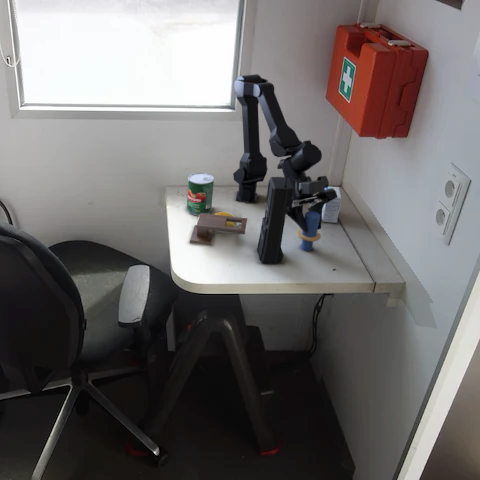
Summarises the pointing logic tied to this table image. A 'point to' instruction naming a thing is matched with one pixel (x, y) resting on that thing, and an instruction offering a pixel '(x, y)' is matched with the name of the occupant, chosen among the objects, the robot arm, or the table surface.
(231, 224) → the bread roll
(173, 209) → the table surface
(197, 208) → the canned tomato
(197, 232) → the stand
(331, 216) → the medicine box
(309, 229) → the peg
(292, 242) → the table surface
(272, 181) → the portable radio
